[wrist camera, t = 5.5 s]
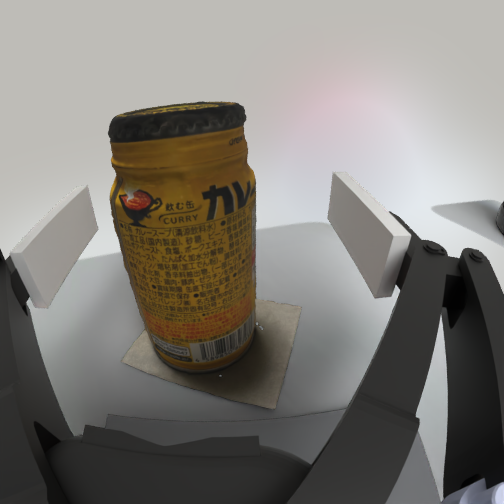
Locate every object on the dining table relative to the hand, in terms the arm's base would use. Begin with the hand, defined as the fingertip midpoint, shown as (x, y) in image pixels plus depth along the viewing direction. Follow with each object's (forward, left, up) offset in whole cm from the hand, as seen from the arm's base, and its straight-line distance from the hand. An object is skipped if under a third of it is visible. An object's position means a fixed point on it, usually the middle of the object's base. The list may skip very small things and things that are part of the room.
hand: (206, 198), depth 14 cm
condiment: (0, +3, -7) cm, 8 cm away
